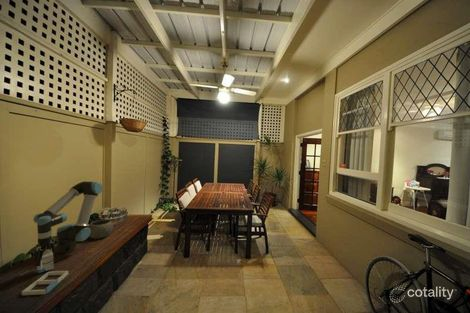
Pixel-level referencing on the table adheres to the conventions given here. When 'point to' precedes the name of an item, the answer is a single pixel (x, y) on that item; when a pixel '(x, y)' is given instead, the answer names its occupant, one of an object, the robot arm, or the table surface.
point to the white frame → (42, 281)
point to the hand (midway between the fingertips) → (45, 265)
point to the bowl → (100, 229)
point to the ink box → (47, 261)
